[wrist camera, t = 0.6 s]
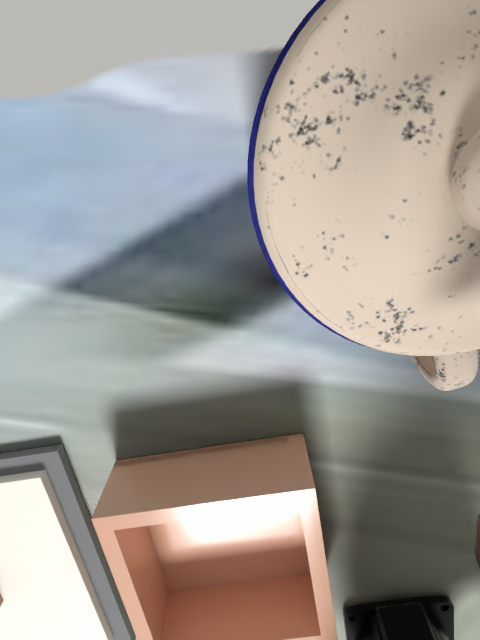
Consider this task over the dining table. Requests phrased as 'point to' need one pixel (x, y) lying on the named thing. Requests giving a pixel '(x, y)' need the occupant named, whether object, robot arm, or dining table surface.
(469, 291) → the teacup with lid
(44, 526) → the cover board
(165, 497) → the open box
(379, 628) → the robot arm
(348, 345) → the dining table surface
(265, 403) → the dining table surface
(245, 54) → the dining table surface
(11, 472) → the mat
